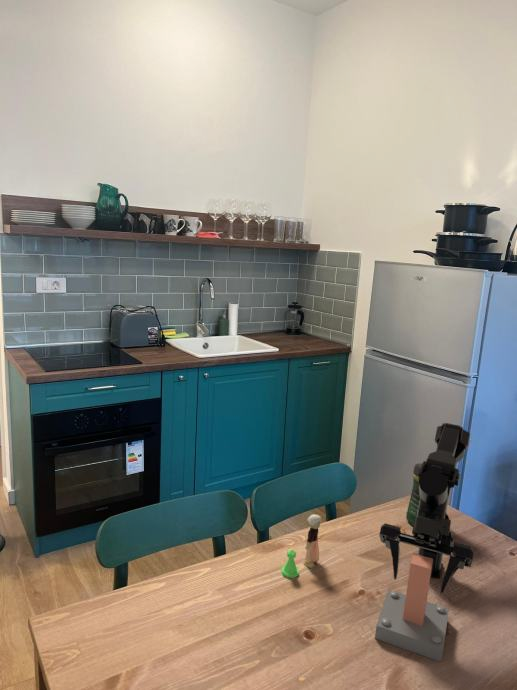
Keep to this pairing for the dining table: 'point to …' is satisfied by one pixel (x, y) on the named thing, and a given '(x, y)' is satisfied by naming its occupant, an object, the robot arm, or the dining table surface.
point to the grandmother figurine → (312, 541)
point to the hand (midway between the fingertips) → (417, 586)
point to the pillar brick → (417, 589)
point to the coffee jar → (414, 496)
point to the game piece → (290, 566)
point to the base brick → (412, 627)
